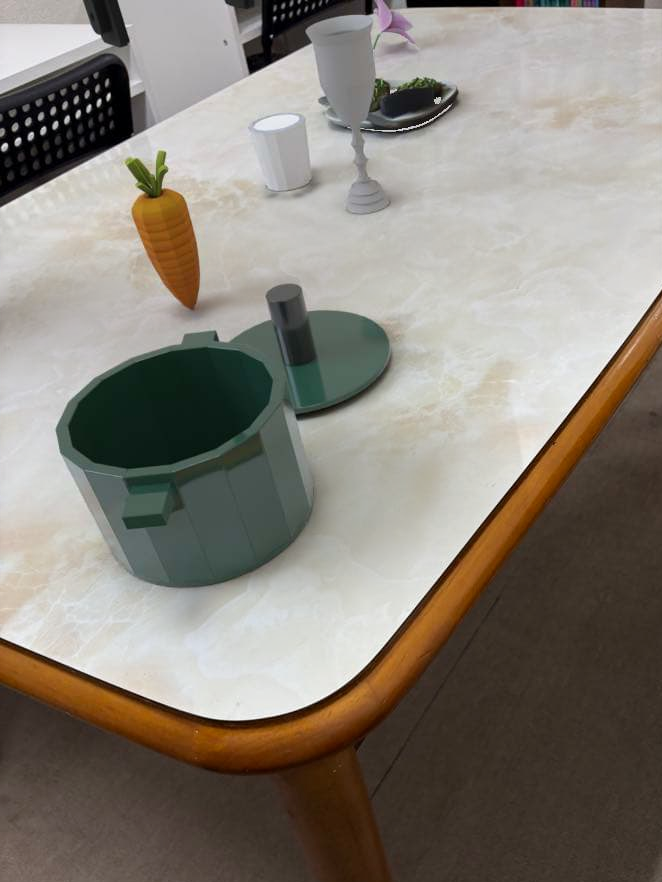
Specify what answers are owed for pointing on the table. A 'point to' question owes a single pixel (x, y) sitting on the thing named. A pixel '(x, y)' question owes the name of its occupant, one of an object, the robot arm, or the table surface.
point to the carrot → (166, 231)
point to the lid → (318, 349)
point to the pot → (190, 461)
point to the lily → (391, 21)
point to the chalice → (350, 92)
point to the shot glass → (282, 150)
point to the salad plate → (402, 104)
